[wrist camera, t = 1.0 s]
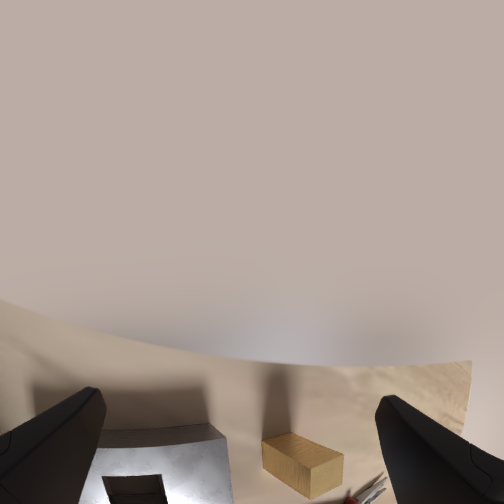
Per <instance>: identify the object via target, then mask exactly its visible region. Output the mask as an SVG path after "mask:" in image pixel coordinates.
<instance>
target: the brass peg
mask: <svg viewBox="0 0 504 504" xmlns="http://www.w3.org/2000/svg"><path fill="white" fill-rule="evenodd" d="M262 455H263V468H264V469H265V470H266V471H268V472H269V473H271V474H272V475H273V476H275V477H276V478H278V479H279V480H281V481H282V482H283V483H285V484H286V485H288V486H289V487H291V488H292V489H294V490H295V491H297V492H299V493H300V494H302V495H303V496H305V497H306V498H308V499H310V500H311V499H313V498H315V497H317V496H320V495H322V494H324V493H326V492H328V491H330V490H332V489H334V488H336V487H338V486H340V485H341V484H342V477H343V460H344V454H342V453H339V452H337V451H334V450H332V449H329V448H327V447H324V446H322V445H319V444H317V443H315V442H312V441H310V440H308V439H305V438H303V437H301V436H298V435H296V434H294V433H292V432H291V433H287V434H284V435H281V436H277V437H274V438H270V439H266V440H263V441H262Z"/></svg>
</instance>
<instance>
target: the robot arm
mask: <svg viewBox="0 0 504 504" xmlns="http://www.w3.org/2000/svg"><path fill="white" fill-rule="evenodd" d="M105 415H106V404H105V402H104V399H103V396H102V394H101V391H100V390H99V389H98V388H94V387H86V388H84V389H82V390H81V391H79V392H77V393H76V394H74V395H72V396H71V397H69V398H67V399H65V400H64V401H62V402H60V403H58V404H57V405H55V406H53V407H52V408H50V409H48V410H46V411H45V412H43V413H41V414H39V415H38V416H36V417H34V418H32V419H30V420H29V421H27V422H25V423H23V424H21V425H20V426H18V427H16V428H14V429H13V430H12V431H9V432H7V433H5V434H3V435H1V436H0V504H79V500H80V497H81V494H82V491H83V488H84V485H85V482H86V479H87V476H88V473H89V470H90V467H91V464H92V461H93V459H94V456H95V453H96V450H97V447H98V443H99V439H100V435H101V431H102V427H103V423H104V419H105ZM375 421H376V426H377V431H378V435H379V440H380V445H381V450H382V455H383V458H384V462H385V465H386V468H387V471H388V474H389V477H390V480H391V484H392V487H393V490H394V493H395V497H396V500H397V504H504V460H501V459H499V458H497V457H495V456H493V455H491V454H489V453H487V452H485V451H483V450H481V449H480V448H478V447H476V446H475V445H473V444H470V443H469V442H468V441H466V440H465V439H463V438H461V437H460V436H458V435H457V434H455V433H453V432H452V431H450V430H448V429H447V428H445V427H444V426H442V425H441V424H439V423H437V422H436V421H434V420H433V419H431V418H430V417H428V416H427V415H425V414H423V413H422V412H420V411H419V410H417V409H416V408H414V407H413V406H411V405H410V404H408V403H407V402H405V401H404V400H402V399H401V398H399V397H398V396H396V395H388V396H384V397H382V399H381V401H380V403H379V406H378V408H377V410H376V413H375Z"/></svg>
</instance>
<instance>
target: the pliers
mask: <svg viewBox="0 0 504 504" xmlns="http://www.w3.org/2000/svg"><path fill="white" fill-rule="evenodd" d="M386 479H387V477H385V478H383V479H382V480H381V481H379V482H378V483H376V484H375V485H373V486H372V487H370V488H369V489H367V490H366V491H364V492H363V493H362V494H360V495H359V496H358V497H357V498H356V500H355V499H353V498H351V497H348V498H346V500H345V502H344V504H372V503H373V502H374V501H375V500H376V499H377V498H378V497H379V496H380V495H381V494H382V493H383V492H384V491H385V490H386V488H383V489H382V490H380V491H378V490H379V488H380V487H381V486H382V484H383V483H384V482H385V480H386ZM377 491H378V492H377Z"/></svg>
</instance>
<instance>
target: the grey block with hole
mask: <svg viewBox="0 0 504 504" xmlns="http://www.w3.org/2000/svg"><path fill="white" fill-rule="evenodd" d="M152 474H157V475H158V479H159V484H160V488H161V492H162V493H154V494H139V495H112V492H111V488H110V485H109V482H108V479H107V476H136V475H152ZM79 504H234V501H233V494H232V485H231V477H230V468H229V459H228V450H227V440H226V437H225V436H224V435H223V434H222V433H220V432H219V431H218V430H217V429H216V428H215V427H214V426H212V425H211V424H210V423H205V424H198V425H190V426H181V427H171V428H158V429H141V430H102V431H101V435H100V439H99V443H98V447H97V450H96V453H95V456H94V459H93V461H92V464H91V467H90V470H89V473H88V476H87V479H86V482H85V485H84V488H83V491H82V494H81V497H80V500H79Z"/></svg>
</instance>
